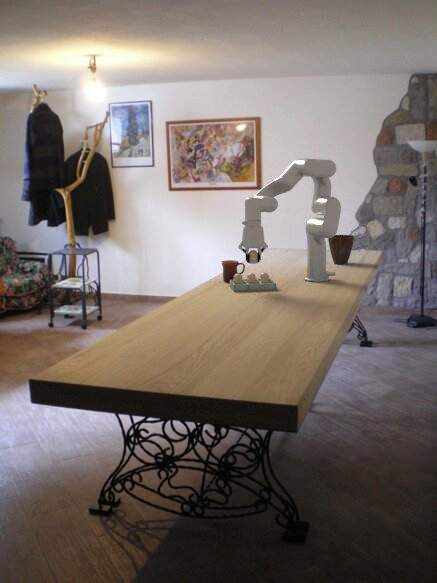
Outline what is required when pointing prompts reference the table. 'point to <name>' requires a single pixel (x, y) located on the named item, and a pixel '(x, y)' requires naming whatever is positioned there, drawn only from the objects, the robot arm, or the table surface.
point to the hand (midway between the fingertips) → (253, 261)
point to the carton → (252, 283)
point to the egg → (253, 257)
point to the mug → (230, 269)
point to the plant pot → (341, 248)
